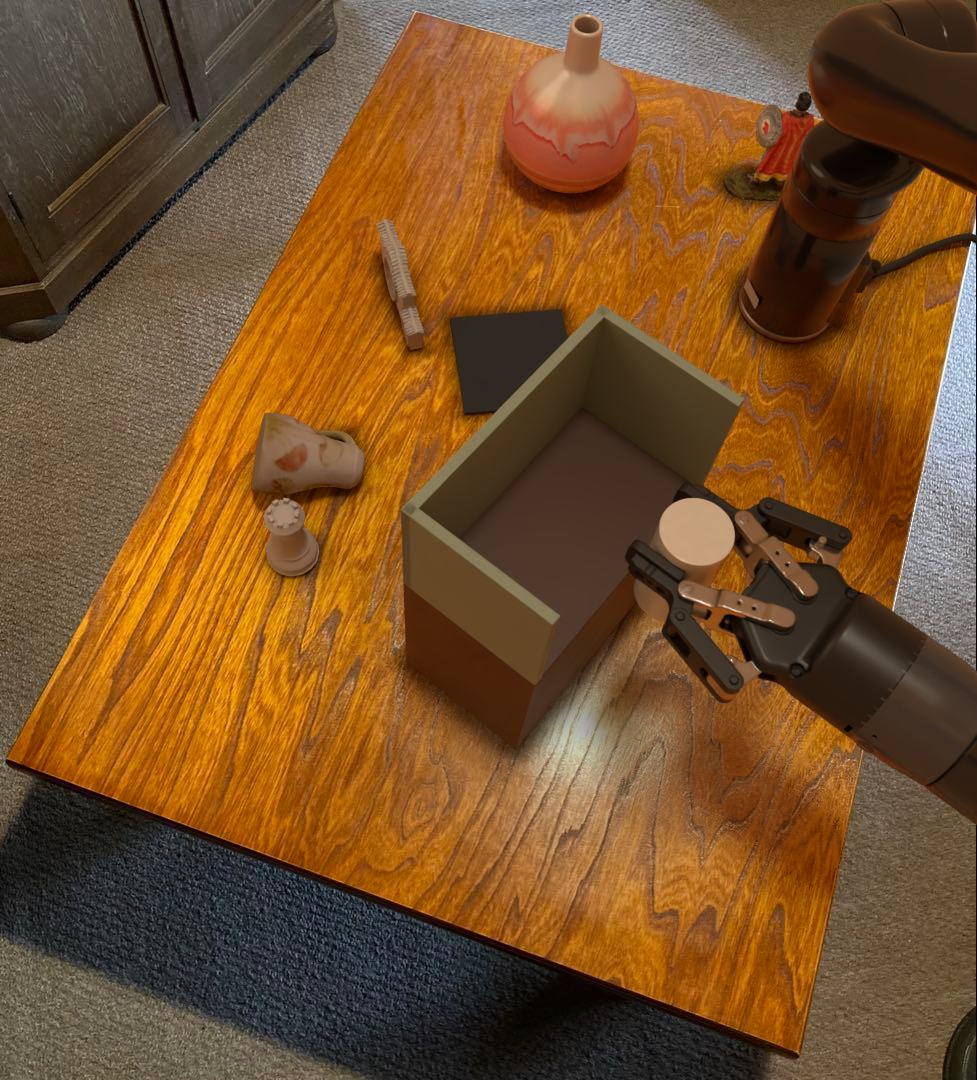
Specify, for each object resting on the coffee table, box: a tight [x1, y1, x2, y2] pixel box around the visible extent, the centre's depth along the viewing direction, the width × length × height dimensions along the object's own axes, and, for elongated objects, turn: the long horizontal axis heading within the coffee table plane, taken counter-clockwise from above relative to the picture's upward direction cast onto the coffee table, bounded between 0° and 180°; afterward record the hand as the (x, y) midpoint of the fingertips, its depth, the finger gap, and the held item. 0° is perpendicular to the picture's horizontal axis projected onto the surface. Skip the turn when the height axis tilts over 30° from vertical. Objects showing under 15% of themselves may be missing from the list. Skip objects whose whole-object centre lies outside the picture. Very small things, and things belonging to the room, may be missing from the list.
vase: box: [502, 13, 640, 194], centre depth 106 cm, size 14×14×18 cm
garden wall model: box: [375, 218, 425, 351], centre depth 102 cm, size 12×2×6 cm, turn 16°
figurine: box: [723, 90, 815, 202], centre depth 109 cm, size 8×5×12 cm, turn 81°
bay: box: [400, 303, 746, 750], centre depth 79 cm, size 12×21×27 cm, turn 141°
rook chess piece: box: [263, 497, 320, 577], centre depth 89 cm, size 4×4×8 cm
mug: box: [251, 412, 366, 496], centre depth 94 cm, size 8×10×10 cm
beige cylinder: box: [634, 498, 735, 623], centre depth 69 cm, size 5×5×9 cm
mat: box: [449, 308, 569, 416], centre depth 103 cm, size 11×11×1 cm
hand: (654, 521), depth 67 cm, fingers closed on beige cylinder, 4 cm apart
